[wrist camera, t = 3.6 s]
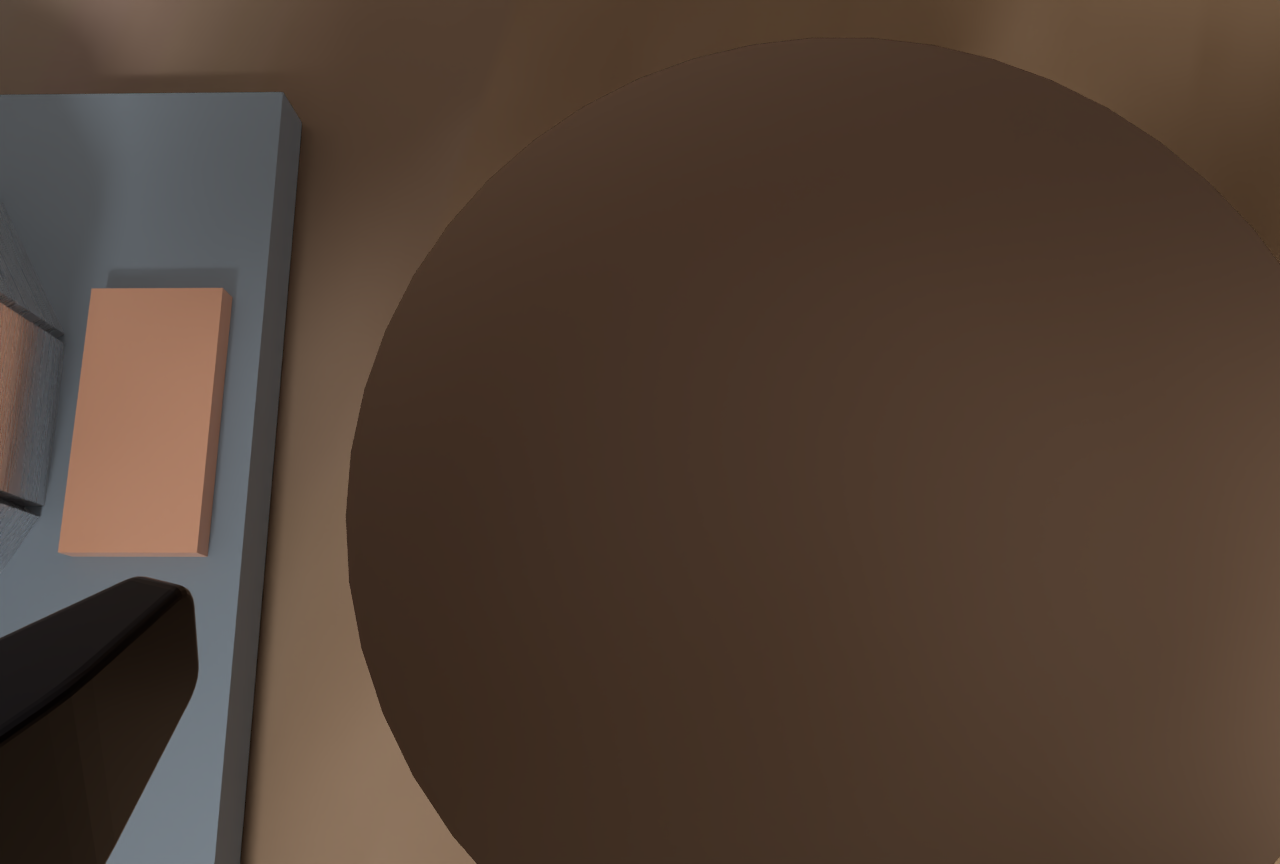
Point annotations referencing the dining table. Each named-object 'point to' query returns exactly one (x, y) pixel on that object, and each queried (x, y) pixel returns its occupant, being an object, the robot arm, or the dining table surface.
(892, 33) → the dining table surface
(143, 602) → the robot arm
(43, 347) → the socket board
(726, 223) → the walnut peg
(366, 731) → the dining table surface
